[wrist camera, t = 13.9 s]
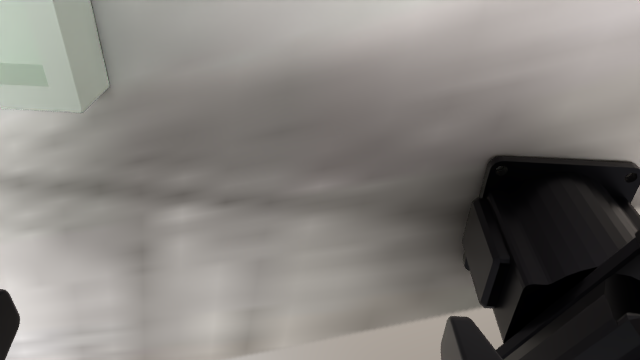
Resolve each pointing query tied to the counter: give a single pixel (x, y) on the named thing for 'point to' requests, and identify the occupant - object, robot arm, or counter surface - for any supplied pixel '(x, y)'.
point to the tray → (50, 56)
